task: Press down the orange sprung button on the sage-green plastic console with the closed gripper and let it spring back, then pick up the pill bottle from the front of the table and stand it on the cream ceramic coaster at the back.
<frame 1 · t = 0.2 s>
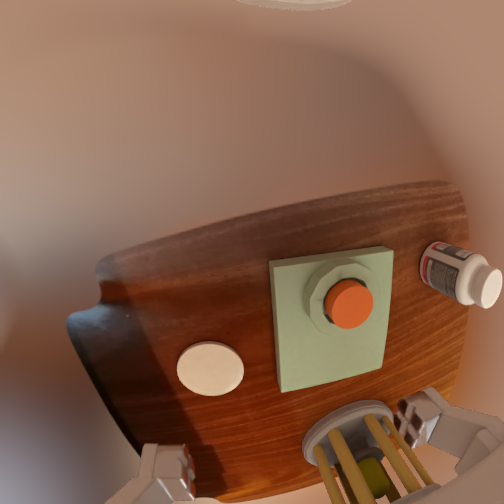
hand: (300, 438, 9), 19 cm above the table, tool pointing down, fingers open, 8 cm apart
pill bottle: (433, 262, 29), on the table
lantern: (347, 432, 34), on the table
console: (330, 317, 29), on the table
coaster: (210, 368, 28), on the table
press button: (349, 304, 24), point 4 cm above the table, slide at 0.1 cm
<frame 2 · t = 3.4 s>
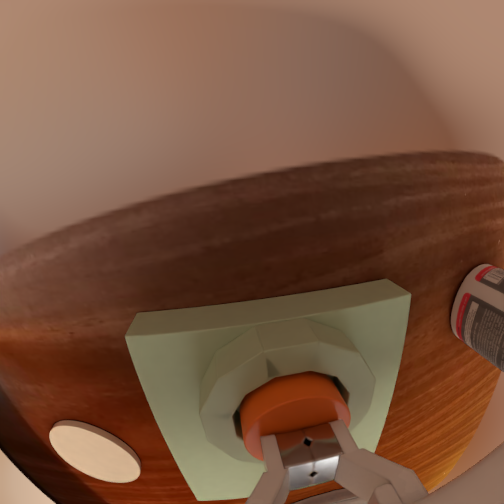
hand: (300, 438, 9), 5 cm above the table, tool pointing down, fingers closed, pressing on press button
pill bottle: (471, 299, 15), on the table
console: (277, 408, 14), on the table
coaster: (94, 452, 14), on the table
press button: (294, 419, 9), point 4 cm above the table, slide at -0.2 cm, touching gripper
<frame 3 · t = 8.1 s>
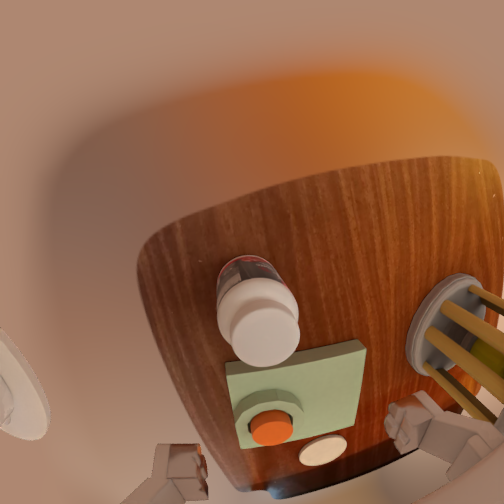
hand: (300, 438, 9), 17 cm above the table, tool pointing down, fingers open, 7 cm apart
pill bottle: (247, 282, 25), on the table
lantern: (445, 324, 30), on the table
console: (295, 394, 29), on the table
coaster: (322, 449, 32), on the table
press button: (271, 428, 24), point 4 cm above the table, slide at 0.1 cm
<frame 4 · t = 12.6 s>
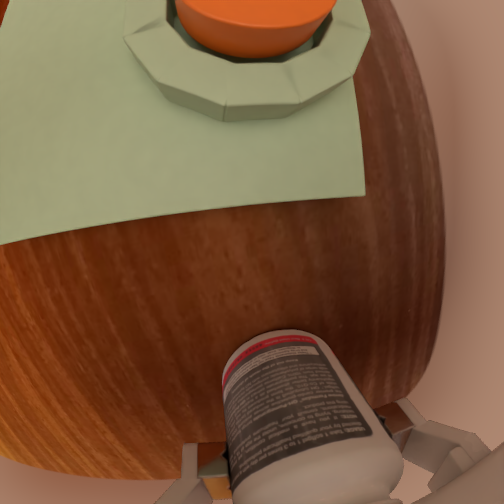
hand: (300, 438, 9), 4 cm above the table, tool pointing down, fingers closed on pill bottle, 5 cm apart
pill bottle: (278, 372, 13), on the table, touching gripper
console: (149, 63, 9), on the table
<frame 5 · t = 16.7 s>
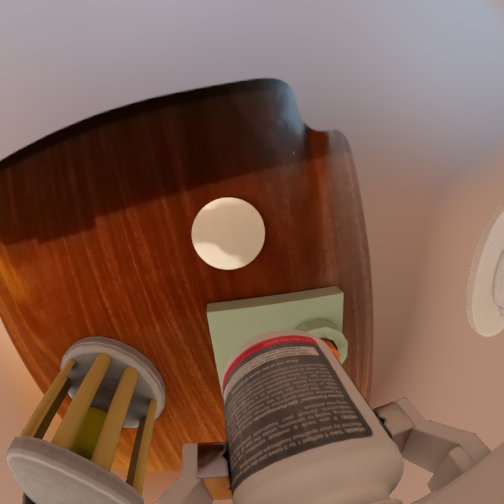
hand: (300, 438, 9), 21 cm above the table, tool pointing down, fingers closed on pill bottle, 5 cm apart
pill bottle: (278, 372, 13), point 17 cm above the table, touching gripper
lantern: (112, 382, 31), on the table
console: (277, 343, 31), on the table
coaster: (228, 233, 28), on the table
press button: (319, 359, 27), point 4 cm above the table, slide at 0.1 cm
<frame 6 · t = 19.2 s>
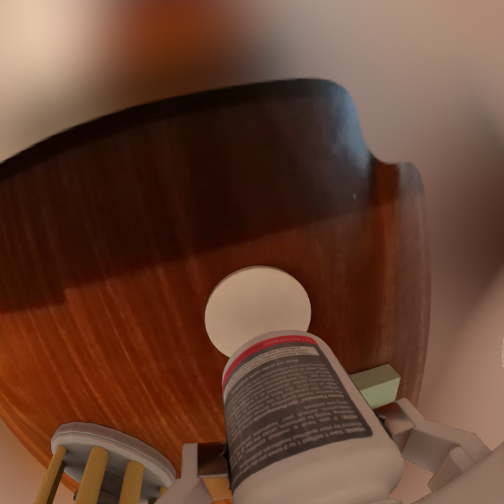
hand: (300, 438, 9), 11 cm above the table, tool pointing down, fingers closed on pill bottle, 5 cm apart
pill bottle: (278, 372, 13), point 6 cm above the table, touching gripper
lantern: (113, 462, 22), on the table
console: (312, 428, 22), on the table
coaster: (258, 315, 19), on the table
when the fingers open (5 cm above the table, at t = 21.1 s): pill bottle stays where it is, resting on coaster.
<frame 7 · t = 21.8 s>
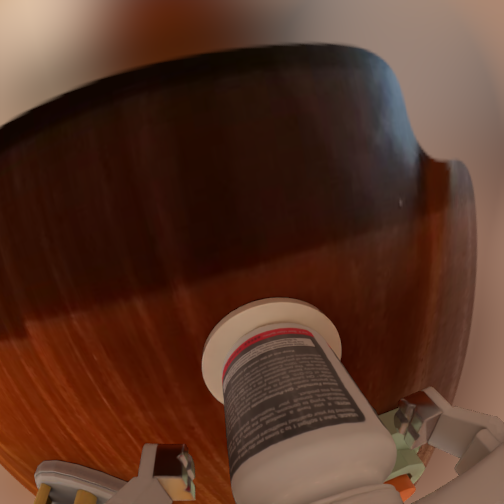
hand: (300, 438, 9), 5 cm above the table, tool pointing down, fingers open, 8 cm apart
pill bottle: (276, 365, 13), resting on coaster
lantern: (103, 499, 16), on the table
console: (328, 470, 17), on the table
coaster: (272, 360, 14), on the table
press button: (388, 495, 13), point 4 cm above the table, slide at 0.1 cm
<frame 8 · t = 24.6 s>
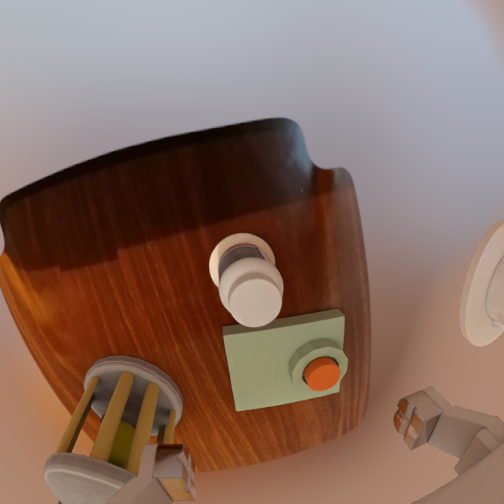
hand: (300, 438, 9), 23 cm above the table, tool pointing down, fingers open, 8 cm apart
pill bottle: (243, 266, 31), resting on coaster
lantern: (133, 395, 34), on the table
console: (284, 359, 34), on the table
coaster: (242, 264, 31), on the table
press button: (322, 374, 30), point 4 cm above the table, slide at 0.1 cm
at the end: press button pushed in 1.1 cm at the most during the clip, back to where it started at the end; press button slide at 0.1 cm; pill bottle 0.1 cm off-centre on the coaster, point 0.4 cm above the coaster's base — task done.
